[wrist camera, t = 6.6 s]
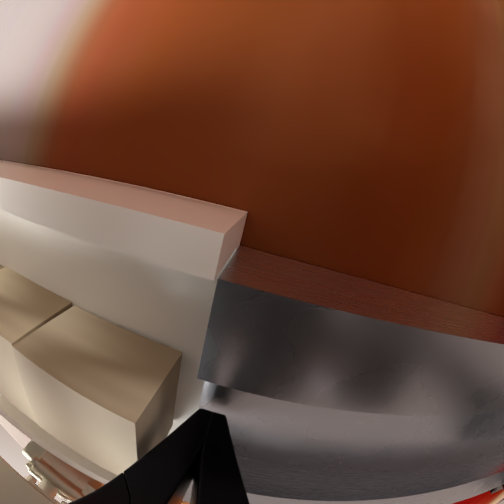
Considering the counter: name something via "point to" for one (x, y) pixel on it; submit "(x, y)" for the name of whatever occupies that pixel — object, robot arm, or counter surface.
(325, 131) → the counter surface
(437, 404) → the slot rail
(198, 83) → the counter surface
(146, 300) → the tray
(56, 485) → the pneumatic valve
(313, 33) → the counter surface
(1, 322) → the block
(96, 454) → the block
